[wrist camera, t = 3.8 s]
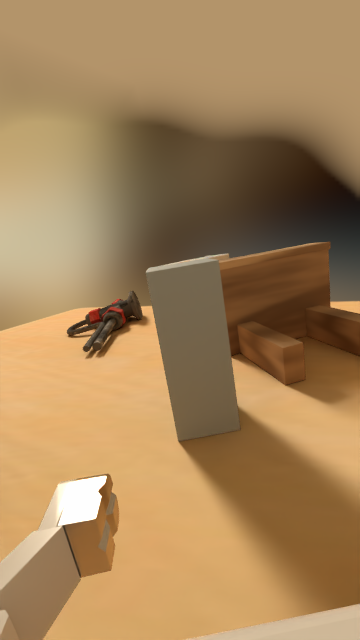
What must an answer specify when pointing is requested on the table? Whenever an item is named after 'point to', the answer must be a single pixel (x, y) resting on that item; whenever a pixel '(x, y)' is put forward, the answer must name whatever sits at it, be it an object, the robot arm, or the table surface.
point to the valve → (107, 320)
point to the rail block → (195, 346)
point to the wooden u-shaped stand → (284, 308)
